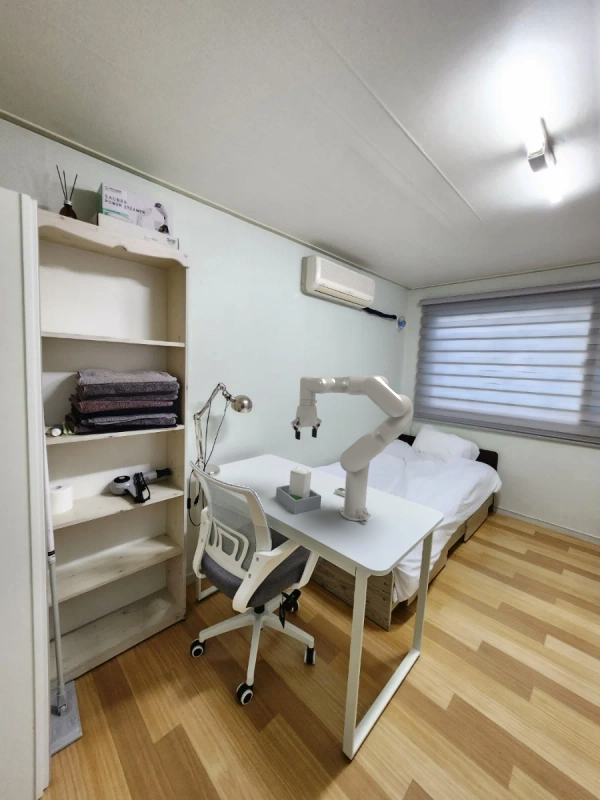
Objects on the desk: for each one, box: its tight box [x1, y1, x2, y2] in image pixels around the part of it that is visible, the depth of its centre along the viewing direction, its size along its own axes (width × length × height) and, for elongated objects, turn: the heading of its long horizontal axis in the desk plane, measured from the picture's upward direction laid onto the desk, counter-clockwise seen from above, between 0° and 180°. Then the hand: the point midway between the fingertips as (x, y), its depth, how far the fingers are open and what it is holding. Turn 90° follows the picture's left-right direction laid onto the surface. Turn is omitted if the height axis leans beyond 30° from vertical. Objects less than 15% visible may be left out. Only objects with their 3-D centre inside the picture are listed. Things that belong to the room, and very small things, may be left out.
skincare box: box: [289, 466, 312, 500], centre depth 145 cm, size 8×7×16 cm
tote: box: [275, 484, 322, 515], centre depth 146 cm, size 18×14×6 cm
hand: (306, 438), depth 147 cm, fingers open, 9 cm apart
